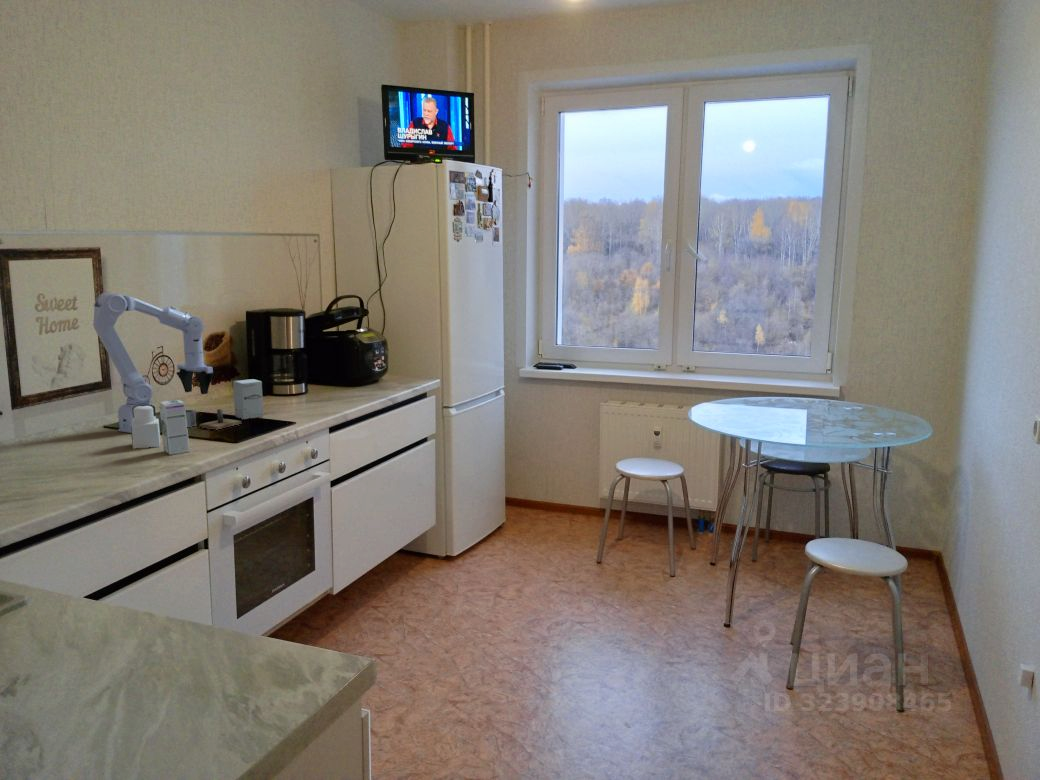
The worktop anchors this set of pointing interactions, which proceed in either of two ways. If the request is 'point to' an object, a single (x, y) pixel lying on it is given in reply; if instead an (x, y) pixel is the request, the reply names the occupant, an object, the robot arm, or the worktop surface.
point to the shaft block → (220, 422)
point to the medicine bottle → (145, 427)
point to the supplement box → (248, 398)
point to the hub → (190, 418)
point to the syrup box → (174, 427)
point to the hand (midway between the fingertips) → (196, 392)
